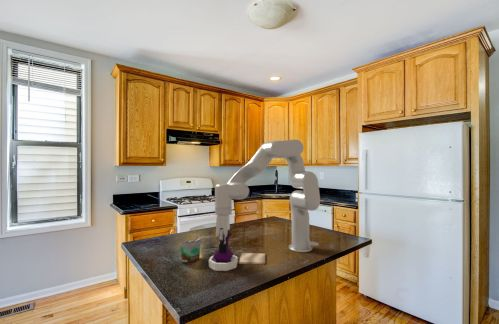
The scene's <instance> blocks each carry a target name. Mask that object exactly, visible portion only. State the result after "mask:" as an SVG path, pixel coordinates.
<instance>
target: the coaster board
mask: <svg viewBox="0 0 499 324" xmlns="http://www.w3.org/2000/svg"><path fill="white" fill-rule="evenodd" d="M239 257H240V258H239V261H238V264H239V265H266V253H264V252H263V253H255V252H242V253H241V254H240V256H239Z"/></svg>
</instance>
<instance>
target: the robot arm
mask: <svg viewBox="0 0 499 324" xmlns="http://www.w3.org/2000/svg"><path fill="white" fill-rule="evenodd" d="M303 152H304V144H303V142H302V141H301V140H300V139H287V140H284V139H283V140H272V141H267V142H264V143H262V144H261V146H260V147H259V148H258V149H257V150H256V152H255V153H254V155H253V156H252V157H251V158H250V160H249V161H248V162H247V163H246V164H245V165H243V166H241V168H240V169H238V170H237V172H236V173H234V175H232V177H231V178H230V179H229V180H228V182H227V183H218V184H216V185H215V186H214V204H215V205H214V206H215V207H214V213H215V214H214V215H216V221H215V225H216V226H215V237H216V238H218V250H219V253H226V237H227V235H228V230H231V229H230V228H231V224H230V215H232V213H233V212H232V209H233V207H232V205H233V204H232V203H233V202H232V201H233V200H243V199H245V198H247V197H248V196H249V194H250V188H249V186H248V185H247V184H246V183H247V182H248V181H249V180H251V179H253V178H255V177H257V176H260V175H261V174H262V173H264V171H265V169H266V168H267V166H269V164H270V163H271V161H272V160H273V159H284V160H285V161H286V163H287V167H288V173H289V176H288V177H289V183H290V185H291V186H292V187H293V188H295V189H297V190H294V191H292V192H291V193H290V196H289V205H290V210H291V211H290V212H291V244H289V245H288V249H289V250H290V251H292V252H295V253H308V252H311V251H313V247H319V242H316V241H311V240H310V213H309V211H316V210H317V209H319V207H320V205H321V204H320V203H321V195H320V188H319V187H320V186H319V179H318V177H317V175H316V174H315V173H314V172H313V171H309V170H306V168H305V162H304V159H303V157H302V154H303ZM298 189H300V190H298ZM224 235H225V236H224ZM227 246H228V247H229V241H228V242H227Z"/></svg>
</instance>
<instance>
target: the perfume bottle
mask: <svg viewBox="0 0 499 324" xmlns="http://www.w3.org/2000/svg"><path fill="white" fill-rule="evenodd" d="M223 236H225V235H223ZM231 236H233V234H232V230H231V229H230V230H228V235H227V237H226V253H219V249H218V250H217V251H216V252H215V253H214V255H212V256H213V258H214V259H215V260H216V263H228V262H231V261H230V259H231V258H232V256H233V255H235V253H234V252H233V251H232V250H231V249H230V248H229V245H228V246H227V242H228V243H229V238H230V237H231Z"/></svg>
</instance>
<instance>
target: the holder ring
mask: <svg viewBox="0 0 499 324" xmlns="http://www.w3.org/2000/svg"><path fill="white" fill-rule="evenodd" d="M213 256H214V255H211V256H210V258H209V259H208V268H209V269H211V270H213V271H217V272H221V271H223V272H227V271H230V270H235V269H236V268H237V267H238V256H236V255H235V254H234V255H233V256H232V258H231V259H230V261H229V262H228V263H217V262H216V260H215V259H214V258H213Z"/></svg>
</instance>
